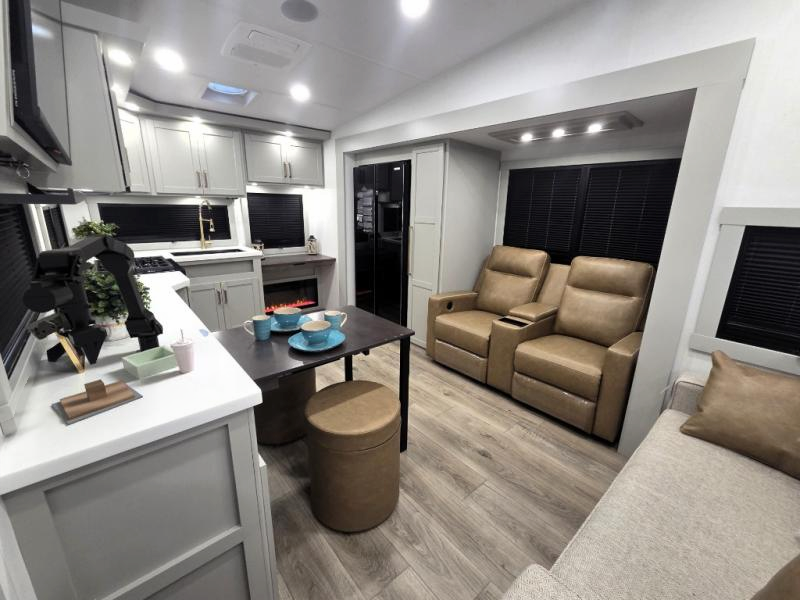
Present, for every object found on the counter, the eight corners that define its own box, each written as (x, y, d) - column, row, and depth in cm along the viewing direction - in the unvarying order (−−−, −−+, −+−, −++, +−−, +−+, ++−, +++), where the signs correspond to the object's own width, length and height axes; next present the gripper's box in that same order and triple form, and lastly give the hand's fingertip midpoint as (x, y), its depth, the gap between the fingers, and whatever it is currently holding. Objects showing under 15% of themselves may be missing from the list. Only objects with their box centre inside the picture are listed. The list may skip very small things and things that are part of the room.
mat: (52, 405, 88) (51, 404, 88) (122, 382, 100) (121, 380, 100) (68, 425, 80) (68, 423, 80) (143, 397, 92) (142, 395, 92)
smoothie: (188, 376, 104) (180, 333, 100) (170, 374, 105) (162, 331, 101) (203, 366, 110) (196, 326, 106) (186, 365, 111) (179, 324, 107)
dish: (124, 370, 108) (121, 357, 107) (166, 357, 118) (163, 345, 117) (139, 380, 102) (136, 367, 100) (182, 365, 111) (180, 353, 110)
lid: (60, 401, 89) (55, 385, 88) (121, 382, 99) (118, 367, 98) (69, 420, 81) (64, 402, 80) (135, 397, 91) (131, 381, 90)
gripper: (15, 303, 82) (34, 362, 86) (34, 316, 72) (53, 382, 76) (76, 294, 91) (90, 348, 95) (100, 304, 81) (115, 364, 85)
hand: (87, 359), depth 87 cm, fingers open, 9 cm apart
